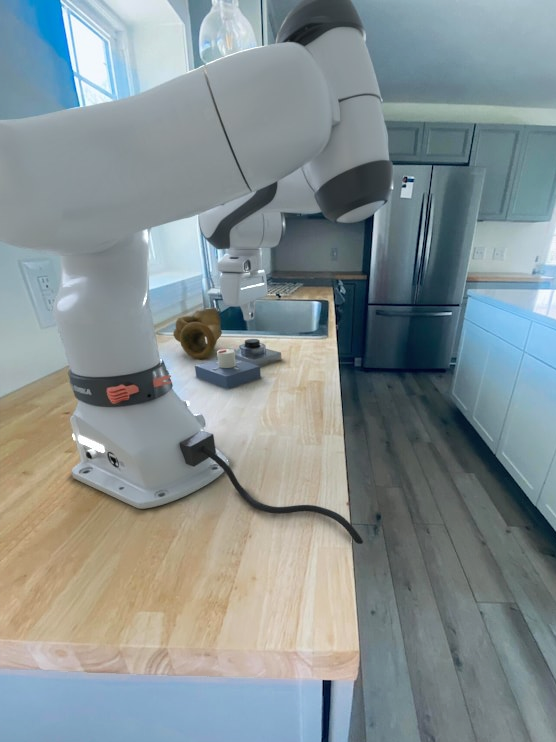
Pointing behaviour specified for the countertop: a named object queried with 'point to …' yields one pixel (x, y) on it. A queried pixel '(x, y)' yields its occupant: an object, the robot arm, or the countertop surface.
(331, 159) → the robot arm
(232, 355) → the knob
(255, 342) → the button
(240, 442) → the countertop surface
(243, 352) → the housing
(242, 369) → the panel
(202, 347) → the brown looped sculpture
